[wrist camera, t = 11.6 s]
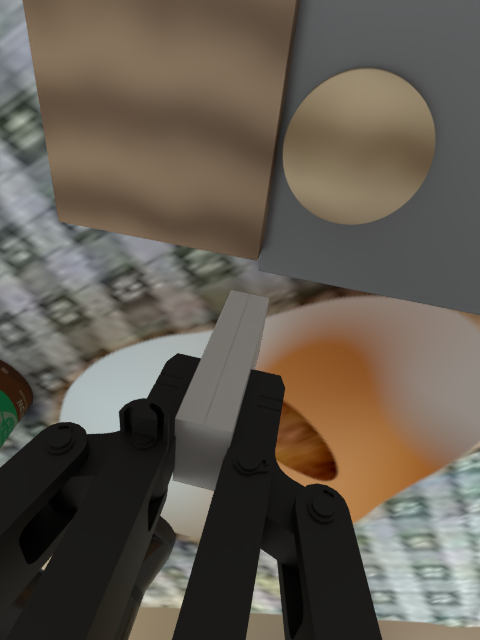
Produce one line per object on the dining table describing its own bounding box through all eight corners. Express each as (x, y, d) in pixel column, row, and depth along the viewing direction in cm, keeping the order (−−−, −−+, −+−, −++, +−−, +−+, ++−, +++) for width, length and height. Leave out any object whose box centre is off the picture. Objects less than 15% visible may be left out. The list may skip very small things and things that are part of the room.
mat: (485, 313, 32) (487, 316, 32) (259, 268, 34) (258, 270, 34) (673, -16, 20) (678, -17, 20) (309, -57, 22) (309, -58, 22)
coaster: (405, 222, 29) (409, 233, 28) (279, 205, 30) (275, 215, 29) (451, 74, 24) (459, 77, 22) (296, 60, 25) (292, 63, 23)
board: (262, 246, 33) (257, 260, 31) (75, 210, 35) (58, 221, 33) (302, -10, 23) (298, -13, 21) (41, -43, 25) (14, -48, 23)
